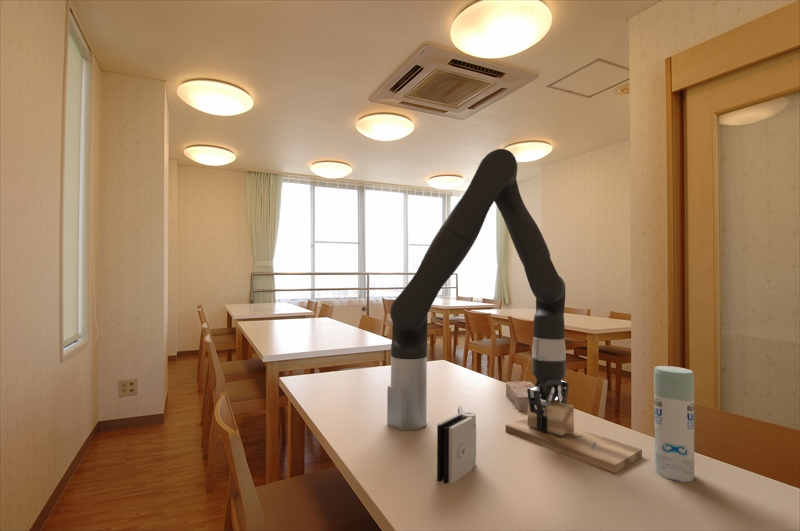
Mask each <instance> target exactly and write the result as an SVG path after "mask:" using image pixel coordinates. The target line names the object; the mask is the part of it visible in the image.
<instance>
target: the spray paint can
mask: <svg viewBox="0 0 800 531" xmlns="http://www.w3.org/2000/svg"><path fill="white" fill-rule="evenodd" d="M653 402H654V404H653V405H654V416H653V417H654V459H655V460H654V461H655V462H654V463H655V464H654V465H655V466H654V468H655V471H656V473H657V474H658V475H660V476H662V477H663V478H666V479H669V480H672V481H676V482H681V483H682V482H683V483H685V482H686V483H689V482H692V481H694V480H695V374H694V371H693V370H691V369H688V368H684V367H679V366H670V365H659V366H655V367H654V370H653Z"/></svg>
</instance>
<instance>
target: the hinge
mask: <svg viewBox="0 0 800 531" xmlns="http://www.w3.org/2000/svg"><path fill="white" fill-rule="evenodd" d="M476 421H477V417H476V413H475V412H472V411H464V410H463V406H462V405H457V414H455V415H453V416H451V417H449V418H447V419H445V420H442V421H441V422H438V423H437V425H436V429H437V430H436V436H437V437H436V440H437V441H436V442H437V443H436V445H437V446H436V454H437V455H436V460H437V461H436V481H438V482H442V481H443V484H445V485H446V484H448V483H449V484H451V485H453V484H454V483H456V482H457V481H459V479H461V478H462V477H464V476H465V475H467V474H468V473H469V472H471V471H472V470H473V468H474V467H475V466H476V459H477V458H476V457H477V422H476Z"/></svg>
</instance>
